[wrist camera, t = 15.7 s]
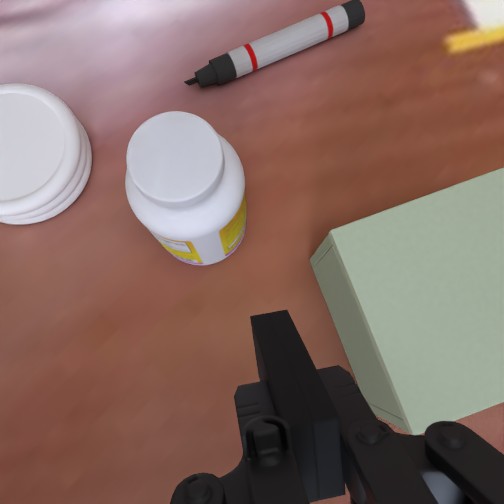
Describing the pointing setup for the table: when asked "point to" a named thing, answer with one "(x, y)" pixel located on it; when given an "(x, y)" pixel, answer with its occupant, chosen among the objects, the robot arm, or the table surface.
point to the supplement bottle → (187, 187)
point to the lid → (434, 297)
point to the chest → (354, 334)
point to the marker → (280, 44)
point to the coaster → (39, 155)
